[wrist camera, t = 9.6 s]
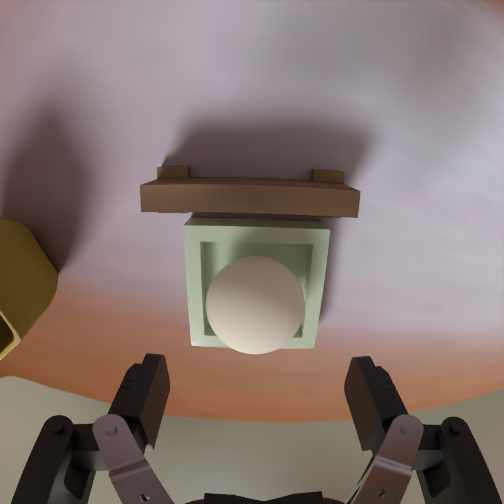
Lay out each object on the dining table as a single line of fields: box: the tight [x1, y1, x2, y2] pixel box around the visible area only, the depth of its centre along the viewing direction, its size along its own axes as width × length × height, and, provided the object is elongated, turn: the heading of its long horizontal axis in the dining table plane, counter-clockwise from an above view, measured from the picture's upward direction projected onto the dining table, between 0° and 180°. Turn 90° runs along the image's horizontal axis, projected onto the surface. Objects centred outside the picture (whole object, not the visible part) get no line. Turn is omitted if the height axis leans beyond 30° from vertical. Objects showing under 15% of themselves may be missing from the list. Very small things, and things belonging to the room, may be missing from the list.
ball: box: [206, 256, 305, 354], centre depth 18 cm, size 6×6×6 cm
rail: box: [140, 166, 360, 218], centre depth 17 cm, size 3×12×4 cm, turn 88°
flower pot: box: [0, 218, 58, 361], centre depth 17 cm, size 9×9×9 cm
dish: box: [184, 218, 330, 349], centre depth 21 cm, size 9×9×2 cm
